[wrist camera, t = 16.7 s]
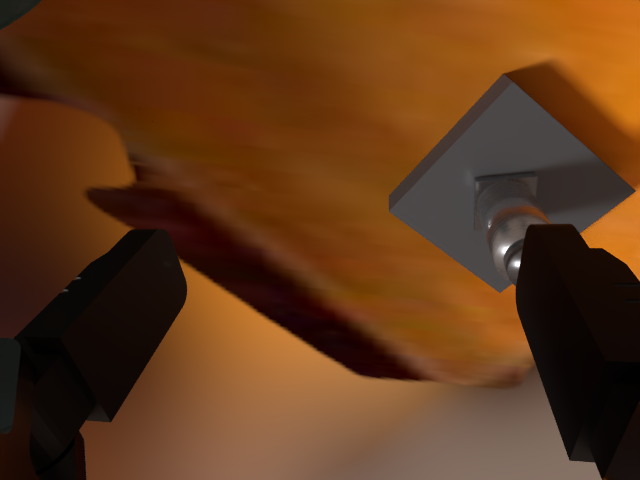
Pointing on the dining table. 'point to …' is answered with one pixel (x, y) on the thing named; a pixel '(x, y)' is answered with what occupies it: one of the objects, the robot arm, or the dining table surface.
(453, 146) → the slate block
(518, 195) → the salt shaker
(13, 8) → the flower pot
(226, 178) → the dining table surface
